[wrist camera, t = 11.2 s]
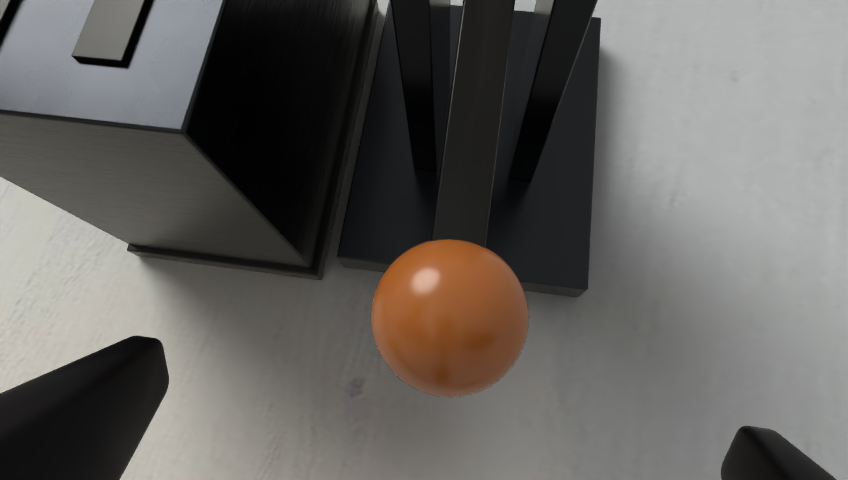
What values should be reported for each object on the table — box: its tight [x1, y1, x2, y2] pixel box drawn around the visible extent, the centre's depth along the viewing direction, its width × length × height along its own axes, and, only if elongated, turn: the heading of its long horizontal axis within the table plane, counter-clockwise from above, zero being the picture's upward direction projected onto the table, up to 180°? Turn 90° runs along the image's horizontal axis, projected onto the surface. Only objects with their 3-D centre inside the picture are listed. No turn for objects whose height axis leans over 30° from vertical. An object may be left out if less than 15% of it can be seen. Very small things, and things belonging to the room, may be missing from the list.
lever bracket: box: [337, 0, 601, 297], centre depth 17 cm, size 13×10×14 cm
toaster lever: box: [371, 0, 529, 397], centre depth 11 cm, size 13×3×3 cm, turn 172°
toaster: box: [0, 0, 379, 280], centre depth 19 cm, size 14×8×12 cm, turn 172°
